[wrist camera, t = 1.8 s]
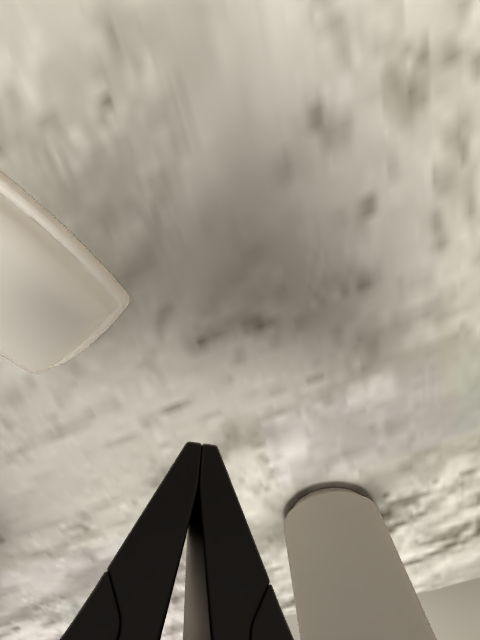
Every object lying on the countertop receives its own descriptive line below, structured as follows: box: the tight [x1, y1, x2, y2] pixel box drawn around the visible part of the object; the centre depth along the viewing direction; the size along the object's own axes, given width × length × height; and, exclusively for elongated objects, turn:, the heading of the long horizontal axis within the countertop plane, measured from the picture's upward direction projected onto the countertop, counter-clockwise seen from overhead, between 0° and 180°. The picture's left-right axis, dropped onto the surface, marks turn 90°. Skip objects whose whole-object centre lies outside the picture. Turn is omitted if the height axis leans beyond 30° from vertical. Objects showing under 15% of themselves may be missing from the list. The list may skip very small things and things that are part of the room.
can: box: [284, 487, 437, 640], centre depth 18 cm, size 8×8×12 cm
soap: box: [0, 172, 130, 374], centre depth 13 cm, size 9×7×3 cm
